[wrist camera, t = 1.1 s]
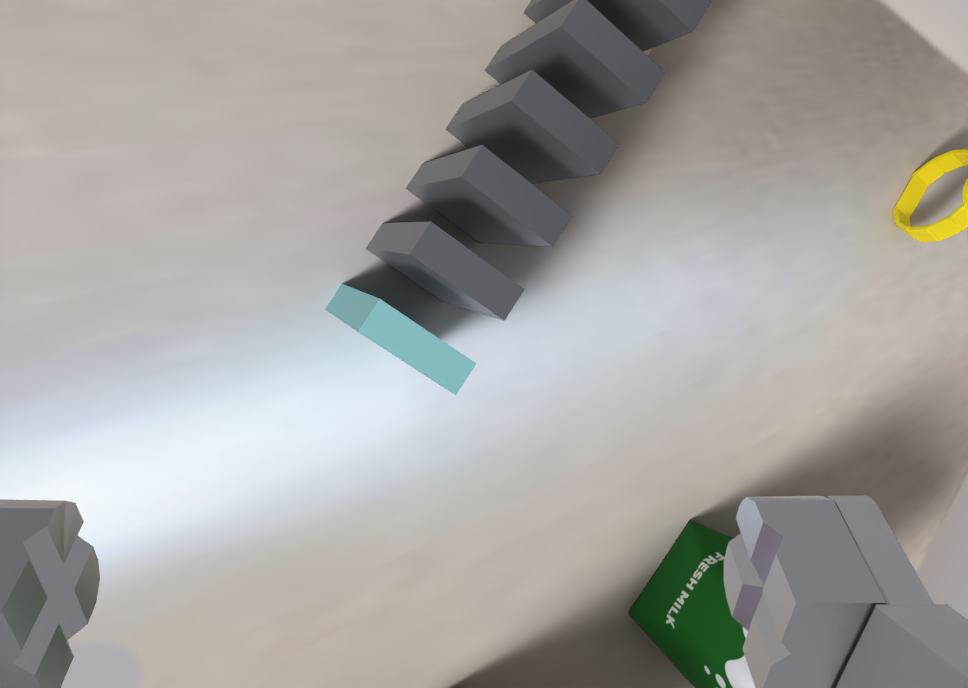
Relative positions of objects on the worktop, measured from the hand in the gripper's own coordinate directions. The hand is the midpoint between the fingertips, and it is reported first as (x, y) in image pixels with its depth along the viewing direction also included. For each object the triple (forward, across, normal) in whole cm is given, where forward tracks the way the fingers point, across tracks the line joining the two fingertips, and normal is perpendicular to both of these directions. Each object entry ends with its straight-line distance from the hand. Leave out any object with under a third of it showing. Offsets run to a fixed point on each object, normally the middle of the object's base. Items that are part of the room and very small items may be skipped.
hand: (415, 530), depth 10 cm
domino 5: (+29, +4, +17) cm, 34 cm away
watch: (+41, -30, +15) cm, 53 cm away
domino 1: (+37, -5, +7) cm, 38 cm away
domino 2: (+35, -2, +9) cm, 36 cm away
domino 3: (+33, 0, +12) cm, 35 cm away
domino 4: (+31, +2, +14) cm, 34 cm away
